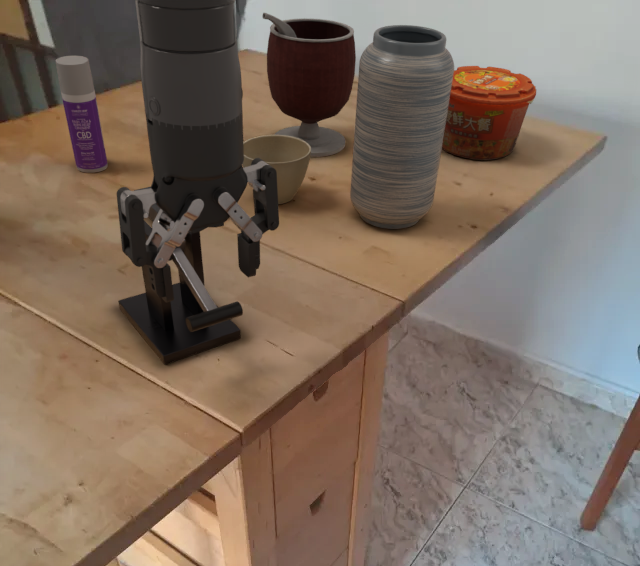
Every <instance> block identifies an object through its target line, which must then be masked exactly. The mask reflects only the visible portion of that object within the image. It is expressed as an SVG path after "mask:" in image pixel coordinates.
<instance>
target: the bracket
mask: <svg viewBox="0 0 640 566" xmlns="http://www.w3.org/2000/svg"><path fill="white" fill-rule="evenodd" d="M144 227H145V240H146V242H147V240H148V238H149V236H150V234H151V232H152V226H151V225H150V224H149V223H147V222H146V220H144ZM202 252H203V251H202V241H201V231H200V232H197V233H193V234H192V233H191V232H190V231H188V233H187V235H186V237H185V251H184V254H185V256H186V257H187V259H188V261H189V262H190V264H191V266H192V267H193V269H194V270H195V272H196V274H197V275H198V277H199V279H200V280H201V282H202V283H203V285H204V287H205V288H206V286H205V273H204V264H203V263H204V262H203V253H202ZM177 272H178V280H179V282H176V283H172V286H173V294H174V300H173V301H170V302H165V301H164V300H163V299H162V298H159V297H158V296H157V295H156V293H155V292H154V291H153V290H152V288H151V287H150V280H149V273H148V266H147V265H144V266H142V267H141V273H142V278H143V286H144V291H145V292H143V293H140V294H139V293H138V294H136V295H133V296H130V297H126V298H122V299H119V300H117V301H118V307H119V310H120V312H121V313H122V314H123V315H124V316H125V318H126V319H127V320H128V321H129V323H130V324H131V325H132V327H134V329H135V330H136V331H137V333H138V334H139V335H140V336H141V337H142V339H143V340H144V341H145V343H146V344H147V345H148V346H149V347H150V348H151V350H152V351H153V352H154V353H155V355H156V356H157V357H158V359H160V361H161V362H162V363H163V364H164V365H168V364H171V363H174V362H177V361H180V360H183V359H186V358H188V357H191V356H194V355H197V354H200V353H202V352H206V351H209V350H212V349H214V348H218V347H220V346H222V345H225V344H229V343H232V342H235V341H237V340H240V339H241V337H242V335H241V334H242V331H241V328H240V327H239V326H238V325H237V324H235V322H234V321H233V320H232V319H230V320H227V321H224V322H221V323H218V324H215V325H212V326H209V327H206V328H203V329H200V330H197V331H194V332H190V331H189V329H188V327H187V325H186V318H187V317H190V316H193V315H196V314H199V313H202V312H204V311H203V310H202V308H201V306H200V305H199V303H198V301H197V300H196V298H195V296H194V295H193V293H192V292H191V290H190V288H189V287H188V285H187V283H186V282H185V280H184V278H183V277H182V275H181V273H180V272H179V270H178V269H177ZM215 305H216V306H217V308H218V307H219V306H218V305H217V304H216V303H215Z"/></svg>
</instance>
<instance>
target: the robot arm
mask: <svg viewBox="0 0 640 566" xmlns="http://www.w3.org/2000/svg"><path fill="white" fill-rule="evenodd" d="M134 1H135V3H134V4H135V9H136V19H137V28H138V33H139V34H138V36H139V47H140V81H141V89H142V97H143V105H144V113H145V122H146V129H147V131H146V132H147V138H148V139H147V140H148V146H149V155H150V162H151V167H152V172H153V173H152V174H153V176H152V177H153V178H152V181H151V185H150V186H149V187H150V189H143V190H137V189H136V190H137V191H134V190H131V189H130V188H128V187H127V186H121V187H119V188H118V189H117V191H116V203H117V212H118V221H119V232H120V233H119V234H120V242H121V250H122V253H123V254H124V255H125V256H126V257H127V258H128V259H129V260H130V261H131V263H132V264H133V265H134V266H135V267H137V268H142V266H144V265H147V266H148V273H149V280H150V287H151V288H152V290H153V291H154V292H155V293H156V295H157V296H158V297H159V298H162V299H163V300H164V301H165V302H170V301H173V300H174V294H173V286H172V285H173V278H172V271H171V265H170V264H169V261H168V260H169V259H170V257H171V255H172V253H173V251H174V249H175V248H176V247H179V246H180V245H181V244H182V242H183V240H184V239H185V237H186V235H187V233H188V231H190V232H191V233H192V234H193V233H197V232H200V233H201V232H202V231H204V230H206V229H207V228H221V227H224V226H225V222H227V221H228V220H230V221H231V222H232V223H233V224H234V225H235V226H236V228H238V230H239V231H240V233H237V235H236V237H237V259H238V261H237V263H238V268H239V270H240V272H241V273H243V274H244V275H245V276H246V277H247V278H251V277H255V276H256V275H257V270H259V268H260V265H261V240H262V238H263V235H264V234H265V233H266V232H268V231H273V232H274V231H275V230H277V229H278V228H279V226H280V213H279V212H280V211H279V204H278V190H277V172H276V170H275V169H274V168H273V167H272V166H270V165H269V164H267V163H266V162H264V161H263V160H262V159H260V158H255V159H254V160H253V161H252V163H251V166H248V167H244V168H243V165H242V164H243V161H244V147H243V142H244V119H243V118H244V116H243V97H244V91H243V84H242V70H241V69H242V68H241V63H240V59H239V58H240V56H239V50H238V36H237V34H238V30H237V3H236V1H237V0H134ZM247 186H249V187H250V188H251V189H252V197H253V199H252V200H253V209H254V210H253V211H254V212H253V213H254V215H252V216H250V215H249V214H247V212H246V211H245V210H244V209H243V208H242V207H241V205H240V204H239V201H240V199H241V198H242V195H243V194H244V192H245V191H246V189H247ZM153 204H156V205H157V206H158V207H159V208H160V210H159V212H158V214H157V216H156V218H155V220H154V222H153V221H152V225H151V227H152V232H151V234H150V236H149V238H148V240H147V242H146V240H145V227H144V221H145V219H148V218H149V217H148V216H149V209H150V207H151V206H152V205H153ZM171 221H173V222H174V223H175V224H174V226H173V227H172V229H170V223H171Z"/></svg>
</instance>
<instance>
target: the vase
mask: <svg viewBox="0 0 640 566" xmlns="http://www.w3.org/2000/svg"><path fill="white" fill-rule="evenodd" d="M372 38H373V39H372V42H371V43H369V44H368V45H367V46H366V47H365V48H364V50H363V51H362V54H361V55H360V59H359V65H358V78H357V79H358V80H357V91H356V92H357V93H356V106H355V121H354V134H353V135H354V136H353V147H352V149H353V150H352V163H351V176H350V177H351V178H350V191H349V198H350V201H351V204H352V206H353V207H354V209H355V210H356V212H358V214H359V217H360V219H362V220H363V221H364V222H365V223H366V224H368V225H370V226H373V227H376V228H380V229H385V230H386V229H387V230H403V229H407V228H411V227H413V226H414V225H416V224H417V223H418V222H419V221H420V220H421V219H422V218H424V216H426V214H428V212H429V211H430V210H431V208H432V207H433V204H434V200H435V193H436V187H437V180H438V176H439V169H440V162H441V157H442V156H441V155H442V150H443V149H442V144H443V137H444V131H445V125H446V118H447V112H448V106H449V99H450V93H451V87H452V80H453V74H454V70H455V63H454V58H453V56H452V54H451V51H449V49H448V48H447V47H446V45H447V36H446V34H445V33H443V32H441V31H439V30H437V29H435V28H431V27H426V26H420V25H413V24H412V25H410V24H392V25H385V26H382V27H379V28H377V29H376V30H375V31H374V32H373V37H372Z"/></svg>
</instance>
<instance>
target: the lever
mask: <svg viewBox="0 0 640 566" xmlns="http://www.w3.org/2000/svg"><path fill="white" fill-rule="evenodd" d="M174 224H175V223H174V222H173V221H171V223H170V229H172V227H173V226H174ZM184 251H185V239H184V240H183V242H182V244H181V245H180V246H179V247H176V248H175V249H174V251H173V253H172V255H171V257H170V259H169V260H168V262H169V261H172V262H173V264H174V265H175V267H176V269H177V271H178V270H179V272H180V273H181V275H182V277H183V278H184V280H185V282H186V283H187V285H188V287H189V288H190V290H191V292H192V293H193V295H194V296H195V298H196V300H197V301H198V303H199V305H200V306H201V308H202V310H203V311H204V312H202V313H199V314H196V315H193V316H190V317H187V318H186V325H187V327H188V329H189V331H190V332H194V331H197V330H200V329H203V328H206V327H209V326H212V325H215V324H218V323H221V322H224V321H227V320H230V319H231V320H232V319H235V318H238V317H242V316H243V314H244V310H243V307H242V304H241V303H240V302H239V301H234V302H230V303H227V304H224V305H221V306H218V305H217V304H216V303H215V302H214V300H213V298H212V297H211V295H210V293H209V292H208V289H207V288H206V286H205V287H204V285H203V283H202V282H201V280H200V279H199V277H198V275H197V274H196V272H195V270H194V269H193V267H192V266H191V264H190V262H189V261H188V259H187V257H186V256H185V254H184ZM215 304H216V305H217V306H218V308H217V306H216V305H215Z"/></svg>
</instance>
